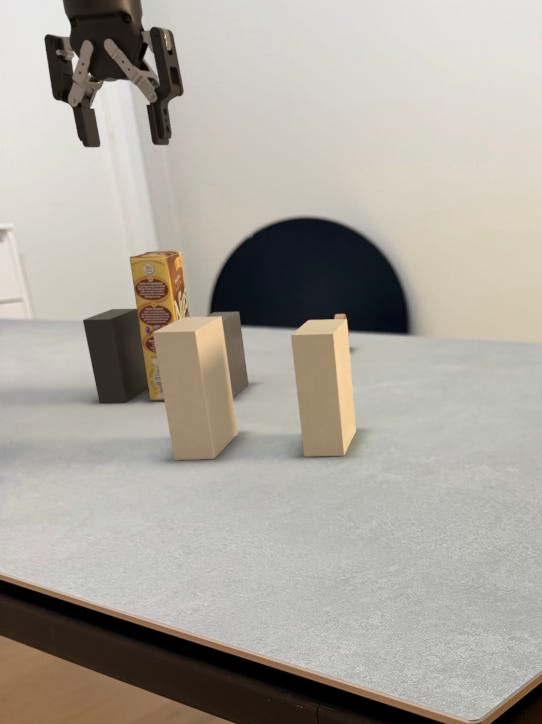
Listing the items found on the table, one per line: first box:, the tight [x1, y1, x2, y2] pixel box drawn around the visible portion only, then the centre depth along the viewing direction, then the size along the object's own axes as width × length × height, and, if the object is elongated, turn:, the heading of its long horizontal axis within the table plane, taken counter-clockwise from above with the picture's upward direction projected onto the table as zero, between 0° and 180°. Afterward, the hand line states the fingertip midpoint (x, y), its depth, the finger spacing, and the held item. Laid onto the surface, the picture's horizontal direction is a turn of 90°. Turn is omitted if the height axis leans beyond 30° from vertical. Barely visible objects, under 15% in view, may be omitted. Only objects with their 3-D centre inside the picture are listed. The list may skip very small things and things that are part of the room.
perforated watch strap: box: [333, 313, 350, 337], centre depth 134 cm, size 3×5×5 cm, turn 0°
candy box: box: [129, 250, 190, 401], centre depth 108 cm, size 9×4×15 cm, turn 6°
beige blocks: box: [153, 316, 357, 461], centre depth 86 cm, size 15×9×11 cm, turn 90°
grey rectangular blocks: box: [82, 308, 249, 404], centre depth 109 cm, size 15×9×9 cm, turn 90°
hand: (126, 146), depth 102 cm, fingers open, 8 cm apart
